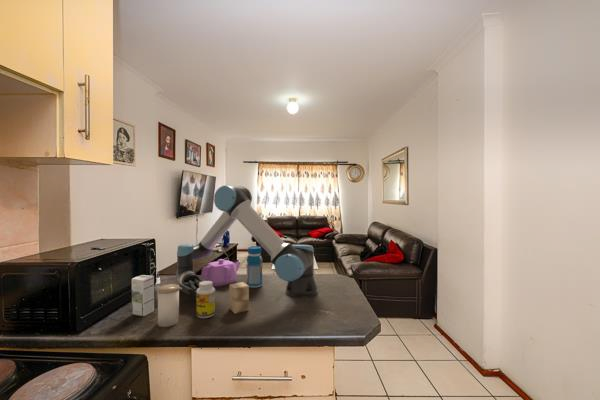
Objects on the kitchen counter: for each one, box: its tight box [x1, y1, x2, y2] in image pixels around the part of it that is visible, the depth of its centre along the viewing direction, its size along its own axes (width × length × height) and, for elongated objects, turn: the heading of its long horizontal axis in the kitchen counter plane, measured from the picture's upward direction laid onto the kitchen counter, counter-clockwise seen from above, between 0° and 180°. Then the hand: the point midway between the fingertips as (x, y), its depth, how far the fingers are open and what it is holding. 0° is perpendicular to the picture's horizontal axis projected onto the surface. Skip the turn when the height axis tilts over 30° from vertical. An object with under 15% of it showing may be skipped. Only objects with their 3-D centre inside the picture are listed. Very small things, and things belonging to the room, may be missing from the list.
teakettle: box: [200, 258, 241, 288], centre depth 149 cm, size 17×17×12 cm
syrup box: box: [131, 274, 155, 317], centre depth 109 cm, size 6×6×14 cm
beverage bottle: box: [245, 245, 264, 289], centre depth 144 cm, size 8×8×20 cm
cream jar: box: [156, 283, 180, 328], centre depth 101 cm, size 7×7×13 cm
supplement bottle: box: [195, 280, 216, 319], centre depth 108 cm, size 7×7×13 cm
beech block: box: [228, 281, 250, 314], centre depth 114 cm, size 6×6×10 cm
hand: (203, 296), depth 111 cm, fingers closed
